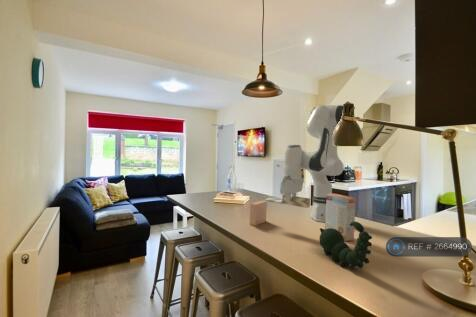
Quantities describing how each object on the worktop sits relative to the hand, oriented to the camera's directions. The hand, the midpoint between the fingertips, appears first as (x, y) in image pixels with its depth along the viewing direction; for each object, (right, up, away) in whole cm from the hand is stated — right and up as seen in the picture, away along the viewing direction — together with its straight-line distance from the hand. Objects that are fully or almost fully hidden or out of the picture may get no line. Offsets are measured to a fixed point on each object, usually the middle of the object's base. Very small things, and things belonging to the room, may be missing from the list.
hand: (291, 201), depth 129 cm
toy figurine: (+12, -18, -34) cm, 40 cm away
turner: (-2, -1, +1) cm, 3 cm away
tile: (-17, -15, +13) cm, 26 cm away
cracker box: (+23, -17, -6) cm, 29 cm away
